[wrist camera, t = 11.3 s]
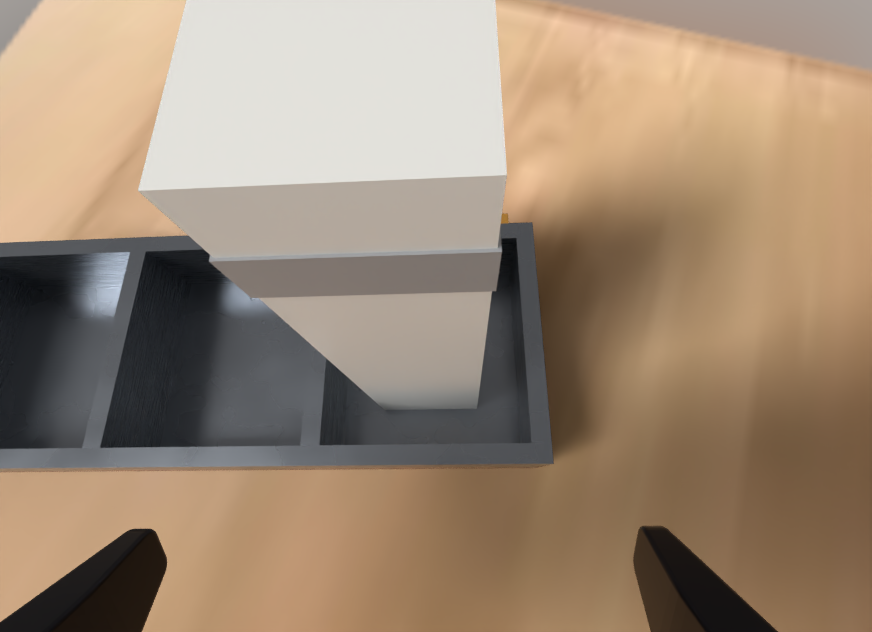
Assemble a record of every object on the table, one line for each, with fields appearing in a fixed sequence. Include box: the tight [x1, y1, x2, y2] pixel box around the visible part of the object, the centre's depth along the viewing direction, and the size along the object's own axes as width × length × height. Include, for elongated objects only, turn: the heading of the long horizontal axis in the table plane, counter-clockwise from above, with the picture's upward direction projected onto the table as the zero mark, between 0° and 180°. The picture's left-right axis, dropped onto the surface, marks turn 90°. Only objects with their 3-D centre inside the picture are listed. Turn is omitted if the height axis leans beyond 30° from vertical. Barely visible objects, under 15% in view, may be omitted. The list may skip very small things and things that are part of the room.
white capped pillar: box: [138, 0, 507, 410], centre depth 12 cm, size 4×4×14 cm
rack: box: [0, 214, 554, 472], centre depth 17 cm, size 22×9×4 cm, turn 90°
